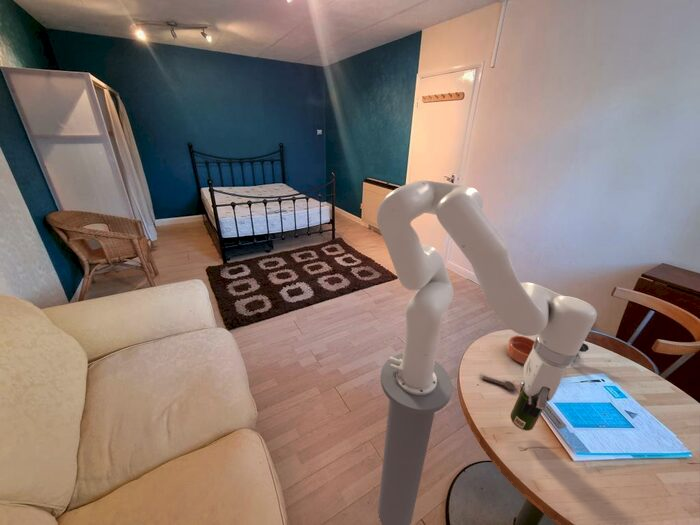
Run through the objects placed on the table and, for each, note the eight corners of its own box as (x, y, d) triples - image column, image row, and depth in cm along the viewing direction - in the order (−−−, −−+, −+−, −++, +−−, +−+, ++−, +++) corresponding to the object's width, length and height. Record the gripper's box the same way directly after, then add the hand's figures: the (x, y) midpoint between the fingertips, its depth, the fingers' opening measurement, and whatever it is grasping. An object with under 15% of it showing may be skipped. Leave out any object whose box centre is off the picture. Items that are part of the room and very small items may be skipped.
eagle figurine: (573, 366, 92) (593, 355, 95) (565, 345, 93) (585, 335, 95) (552, 361, 100) (571, 351, 102) (545, 342, 100) (564, 332, 102)
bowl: (506, 360, 96) (509, 350, 94) (506, 342, 104) (509, 332, 102) (540, 370, 92) (544, 360, 90) (537, 350, 100) (541, 341, 98)
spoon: (482, 381, 88) (482, 379, 88) (482, 374, 90) (483, 373, 90) (514, 392, 84) (515, 390, 84) (514, 385, 87) (514, 383, 87)
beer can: (530, 436, 69) (548, 404, 64) (507, 422, 73) (522, 390, 67) (534, 421, 73) (551, 389, 68) (512, 408, 76) (526, 377, 71)
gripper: (531, 322, 70) (510, 373, 78) (538, 370, 56) (511, 426, 65) (567, 331, 67) (541, 384, 76) (584, 385, 54) (550, 442, 62)
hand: (527, 403), depth 70 cm, fingers closed on beer can, 5 cm apart
